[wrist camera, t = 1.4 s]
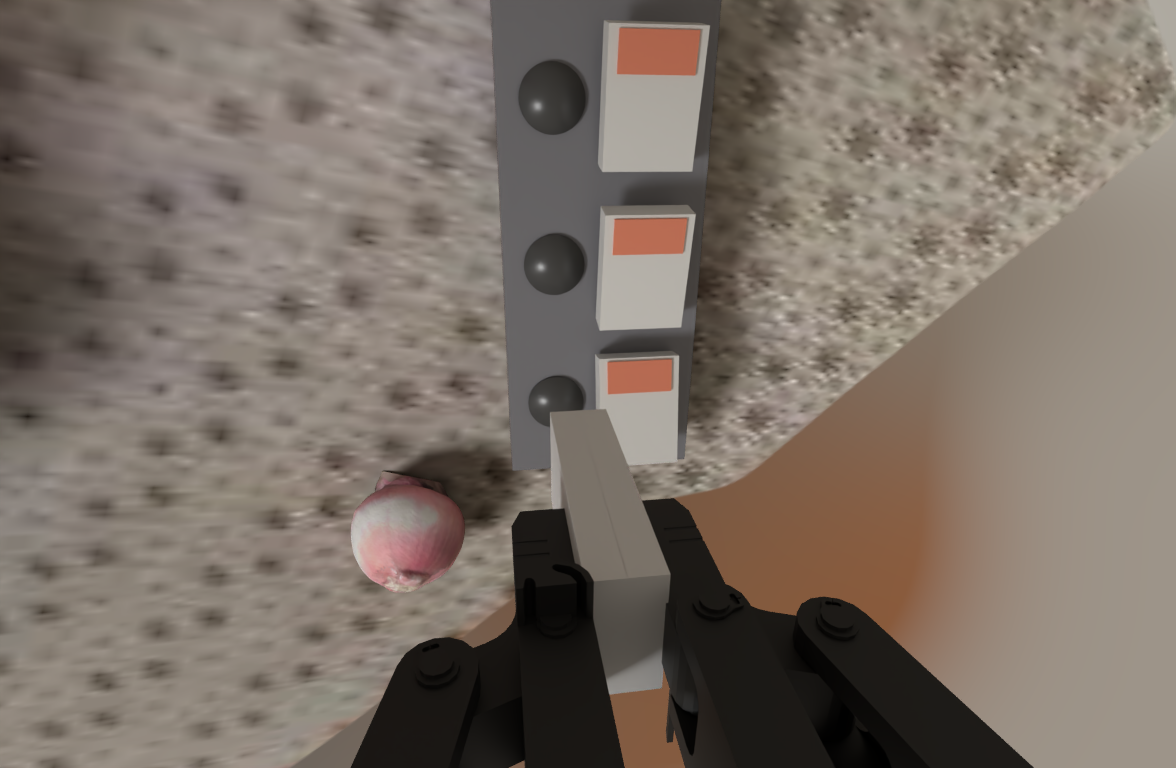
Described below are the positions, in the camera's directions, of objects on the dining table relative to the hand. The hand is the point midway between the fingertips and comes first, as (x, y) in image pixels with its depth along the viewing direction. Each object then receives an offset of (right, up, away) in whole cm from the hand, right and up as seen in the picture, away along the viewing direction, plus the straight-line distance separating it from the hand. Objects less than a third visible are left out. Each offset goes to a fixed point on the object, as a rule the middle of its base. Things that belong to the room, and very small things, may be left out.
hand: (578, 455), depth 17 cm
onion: (-13, -7, +31) cm, 34 cm away
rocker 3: (+3, 0, +23) cm, 23 cm away
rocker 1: (+4, +17, +16) cm, 23 cm away
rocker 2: (+3, +9, +20) cm, 22 cm away
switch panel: (+1, +11, +25) cm, 27 cm away
